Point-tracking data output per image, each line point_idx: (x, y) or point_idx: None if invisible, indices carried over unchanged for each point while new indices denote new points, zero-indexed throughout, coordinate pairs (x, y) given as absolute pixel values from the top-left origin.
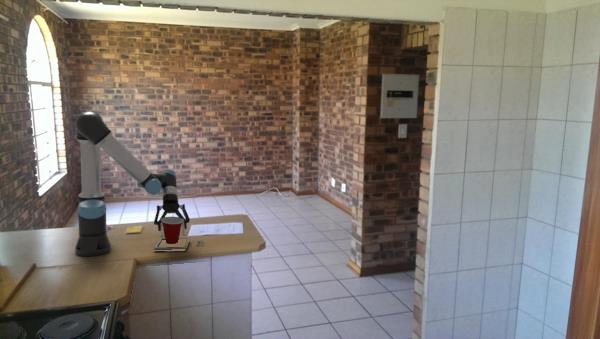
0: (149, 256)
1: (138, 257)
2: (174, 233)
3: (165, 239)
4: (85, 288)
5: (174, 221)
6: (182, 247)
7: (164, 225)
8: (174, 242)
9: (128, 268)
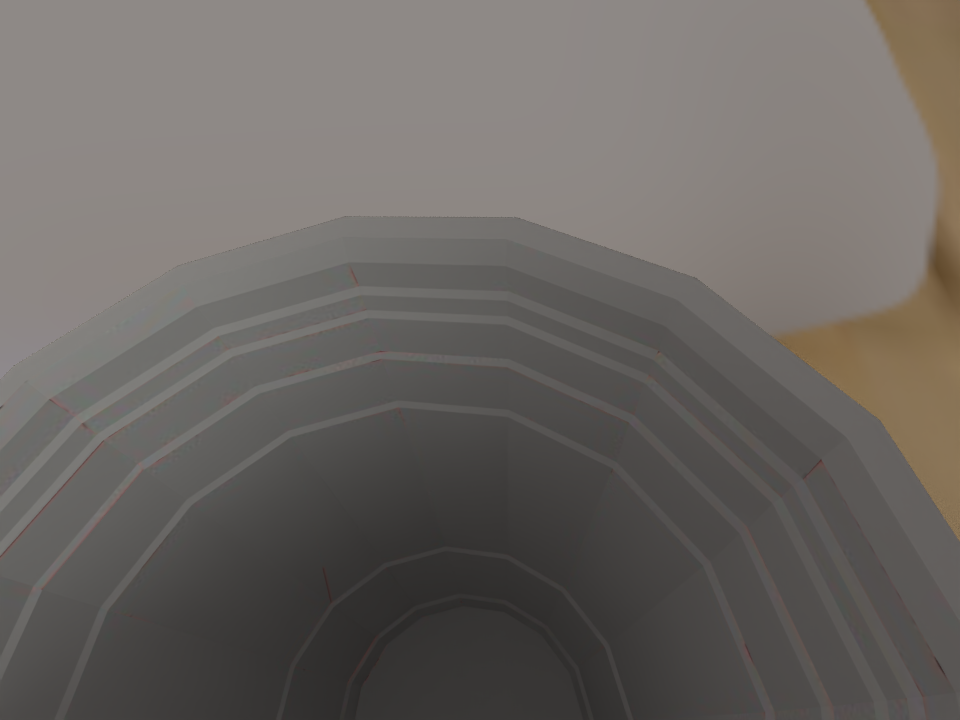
0: (782, 338)
1: (926, 324)
2: (385, 498)
3: (608, 705)
4: None
5: None
6: None
7: (692, 478)
8: (422, 597)
9: (915, 74)
